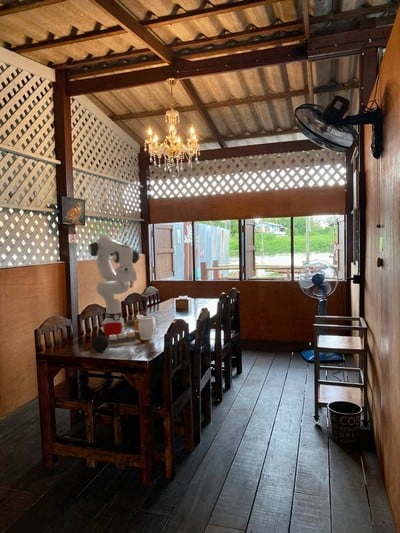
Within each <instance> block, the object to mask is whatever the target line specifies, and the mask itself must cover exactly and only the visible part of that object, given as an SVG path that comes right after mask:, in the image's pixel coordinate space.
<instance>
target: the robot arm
mask: <svg viewBox="0 0 400 533" xmlns="http://www.w3.org/2000/svg"><path fill="white" fill-rule="evenodd" d="M87 249H88V253H89V255H90V256H91V257H96V264H97V269H98V271H99V274H100V277H101V278H102V279H103V281H100V282H98V283H97V284H96V293H97V294H98V295H99V296H101V297H102V298H103V300H104V302H105V309H106V311H105V312H106V313H105V318H104V320H103V322H101V327H100V330H101V331H102V333H104V329H103V325H104V324H106V323H114V322H117V323H122V326H125V320H124V318H123V314H122V313H123V312H122V306H121V305H122V303H121V301H120V300H119V299H117V298H115V295H121V294H124V293H127V292H128V290H129V289H132V288H134V282H136V281H137V279H138V278H137V271H136V269H135V268H134V264H137V262H138V261H139V259H140V253H139V251H138V250H136V249H135V248H134V249H132V246H131V245H129V244H123V243H122V242H119V241H117V240H115V239H114V238H113V237H112V236H110V235H108V234H102V235H100V236H99V238H98V241H96V242H95V241H94V242H92V243H90V244H89V245H88V248H87ZM110 257H112V260H113V262H114V263H115V264H118V265H119V266H118V267H117V268H116V269H114V267H113V263H112V261H111V258H110ZM129 283H130V284H129ZM124 331H125V327H122V330H121V332H124Z"/></svg>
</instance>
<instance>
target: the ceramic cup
mask: <svg viewBox="0 0 400 533" xmlns="http://www.w3.org/2000/svg"><path fill="white" fill-rule="evenodd" d="M102 327H103V329H104V332H103V333H104V336H105V337H106V338H107V339H109V335H117V337H118V334H122V333H124V334H125V332H127V330H128V327H127V326H126V325H124V326H122V323H117V322H114V323H106V324H104V325H102ZM122 327H125V329H124V330H123V331H121V330H122Z"/></svg>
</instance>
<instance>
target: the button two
mask: <svg viewBox="0 0 400 533" xmlns="http://www.w3.org/2000/svg"><path fill="white" fill-rule="evenodd" d="M121 333H122V332H121ZM118 338H119V339H121V338H126V333H125V332H124V333H122V334H118Z"/></svg>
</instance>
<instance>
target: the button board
mask: <svg viewBox="0 0 400 533" xmlns="http://www.w3.org/2000/svg"><path fill="white" fill-rule="evenodd" d="M107 339H108V338H107ZM141 342H142V340H140V339H137V337H136V335H134V337H127V336H126V338H121V339H119V338H118V337H117V339H115V340H110V339H108V347H107V349H111V348H118V347H124V346H130V345H137V344H141Z"/></svg>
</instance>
